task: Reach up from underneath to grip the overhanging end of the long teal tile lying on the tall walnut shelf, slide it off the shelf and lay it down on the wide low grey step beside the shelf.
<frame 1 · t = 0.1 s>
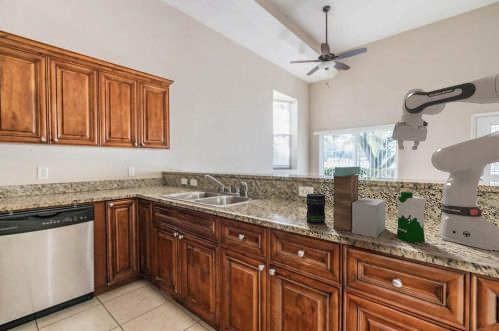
hand: (407, 149, 124), 39 cm above the worktop, tool pointing down, fingers open, 8 cm apart
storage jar: (315, 222, 130), on the worktop
teal tile: (348, 174, 121), point 26 cm above the worktop, touching walnut shelf
walnut shelf: (345, 227, 119), on the worktop
grey step: (369, 230, 114), on the worktop
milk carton: (410, 240, 101), on the worktop
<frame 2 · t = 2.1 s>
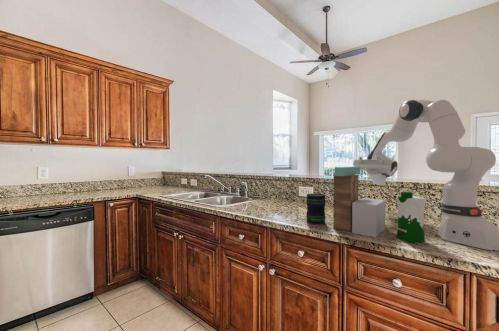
hand: (369, 157, 137), 35 cm above the worktop, tool pointing upward, fingers open, 8 cm apart
nothing on the worktop moved.
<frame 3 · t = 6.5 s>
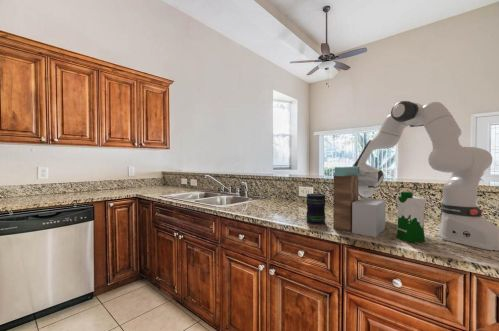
hand: (354, 169, 128), 28 cm above the worktop, tool pointing upward, fingers closed on teal tile, 4 cm apart
teal tile: (348, 174, 121), point 26 cm above the worktop, touching gripper, walnut shelf
everything else where it was.
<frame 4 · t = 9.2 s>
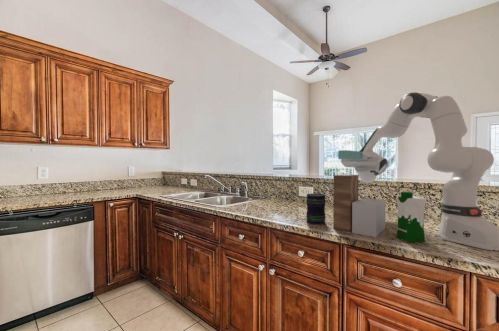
hand: (356, 154, 132), 37 cm above the worktop, tool pointing upward, fingers closed on teal tile, 4 cm apart
teal tile: (351, 158, 125), point 34 cm above the worktop, touching gripper
everything else where it was.
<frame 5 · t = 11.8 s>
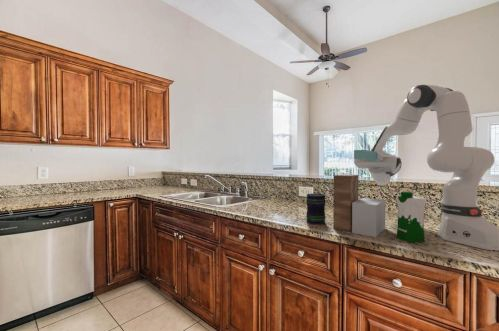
hand: (371, 154, 124), 36 cm above the worktop, tool pointing upward, fingers closed on teal tile, 4 cm apart
teal tile: (366, 159, 117), point 34 cm above the worktop, touching gripper
everything else where it was.
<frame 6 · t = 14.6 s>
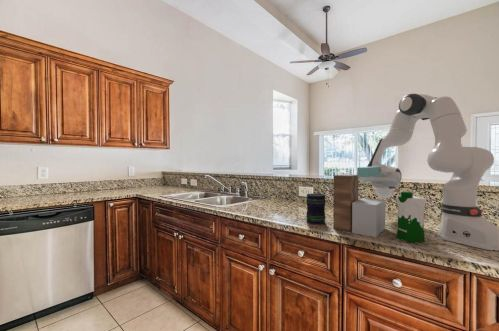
hand: (374, 169, 121), 29 cm above the worktop, tool pointing upward, fingers closed on teal tile, 4 cm apart
teal tile: (370, 175, 114), point 26 cm above the worktop, touching gripper
everything else where it was.
when the fingers open (18 cm above the worktop, at t = 17.3 s): teal tile drops 2 cm, resting on grey step.
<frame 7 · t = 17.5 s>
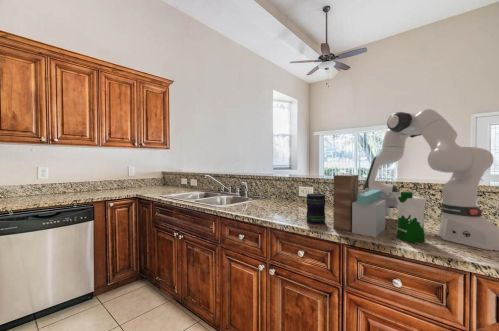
hand: (374, 189, 121), 18 cm above the worktop, tool pointing upward, fingers open, 6 cm apart
teal tile: (369, 200, 114), point 14 cm above the worktop, touching grey step
everything else where it was.
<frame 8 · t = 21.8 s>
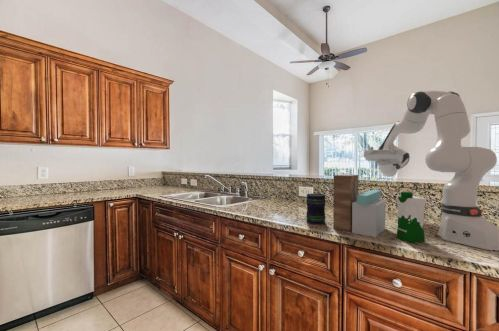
hand: (380, 147, 135), 40 cm above the worktop, tool pointing upward, fingers open, 8 cm apart
nothing on the worktop moved.
at the end: teal tile inside the target area on the grey step (1.2 cm from its centre), point 14.0 cm above the grey step's base; teal tile touching grey step; the gripper is holding nothing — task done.
